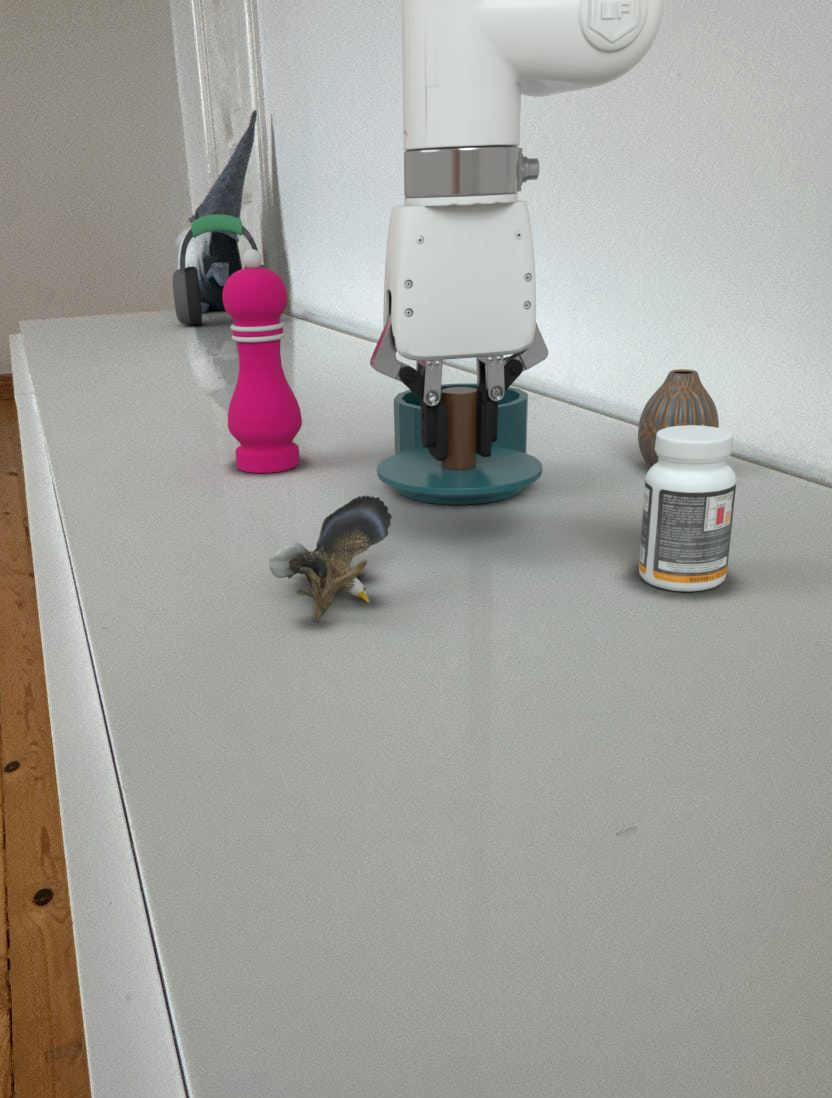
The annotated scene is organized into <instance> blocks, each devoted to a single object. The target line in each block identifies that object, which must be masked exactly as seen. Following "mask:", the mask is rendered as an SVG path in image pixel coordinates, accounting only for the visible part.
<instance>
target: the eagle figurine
mask: <svg viewBox="0 0 832 1098" xmlns="http://www.w3.org/2000/svg"><path fill="white" fill-rule="evenodd" d="M385 504H386V503H385V501H383V500H381V498H380V496H376V497H375V496H370V495H362V496H356V497H355V498H352V499H351V500H350V501H349V502H347V503H345V504H344V505H343V506H339V508H337V509H336V510H334V512H332V513H330V514H329V515H328V516H327V515H326V517H325V518H324V519H323V521H322V524H321V527H320V531H319V536H318V539H317V542H316V547H315V549H314V550H311V551H309V550H308V549H307V548H306V547H305V546H304V545H303V544H302V543H300V542H293V543H291V544H288V545H286V546H284V547H283V548H281V549H279V550H278V551H276V552H274V554H273V555H272V556H271V557H269V563H268V569H269V570H270V572H271V574H272V575H273V576H274V578H277V579H285V578H288V580H290V579H291V578H293V577H294V576H295V575H297V574H300V575H305V577H306V578H307V579H308V582H309V584H310V587H311V588H305V587H303V588H299V589H297V590H296V594H297V595H299V596H308V597H311V598H312V599H313V605H314V611H313V622H314V623H318V622H319V621H320V619H321V618H322V616H324V615H325V612H327V611H328V610H329V608H330V607H329V606H331V605H332V601H333V599H334V596H335V595H336V593H337V591H338V590H339V591H345V592H348V593H350V594H351V595H353V596H355V597H357V598H360V599H362V600H364V601H365V603H367V604H369V603H370V599H369V597H368V595H367V587H366V586H365V585H364V584H363V583H362V582H361V581H360V580H359V579H358V577H359V576H365V575H366V573H365V572H363V571H364V569H365V568H366V567H367V564H368V560H367V559H362V560H361V561H360V562H358V563H357V564H356V565H355V567H352V568H351V563H352V561H353V558H354V557H355V556H357V555H359V554H361V553H364V552H366V551H368V550H369V549H370V547H372V546H373V545H377V544H378V543H381V542H382V541H384V540H385V539H386V538H387V537H388V536H389V528H390V527H391V525H392V524H391V523H392V522H391V520H392V518H393V516H392V514H391V513H390V512H389V507H388V506H387V505H385Z"/></svg>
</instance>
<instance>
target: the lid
mask: <svg viewBox="0 0 832 1098" xmlns="http://www.w3.org/2000/svg"><path fill="white" fill-rule="evenodd" d="M441 395H442V396H443V404H444V405H446V406H447V408H448V458H447V459H445V461H437V460H436V459H435V458H434V457H433V456H432V455H431V454H430V453H429V451H428V448H419V449H414V450H409V451H404V452H401V453H397V454H395V453H394V454H392V455H389V456H387V457H385V458H383V459H382V460H381V461H379V463H378V464H377V465H376V476H377V478H378V479H379V480H380V482H382V483H383V484H385V485H387V486H390V487H392V488H395V489H397V488H398V489H401V490H405V491H410V492H416V493H423V494H428V495H435V496H449V497H466V496H479V495H487V494H492V493H498V492H504V491H509V490H513V489H517V488H521V487H524V486H525V487H526V486H529V485H531V484H534V483H535V482H537V481H538V480H539V479H540V478H541V477H542V474H543V464H542V462H541V461H540V460H539V459H538V458H536V457H535V456H533V455H531V454H529V453H527V452H526V453H523V452H520V451H516V450H511V449H506V448H499V447H491V456H490V457H482V456H480V455H479V454H478V453H477V403H478V390H477V389H475V388H470V387H451V388H446V389H443V390H442V391H441ZM525 487H524V488H525ZM398 489H397V490H398Z"/></svg>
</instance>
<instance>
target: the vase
mask: <svg viewBox="0 0 832 1098" xmlns="http://www.w3.org/2000/svg"><path fill="white" fill-rule="evenodd" d="M686 425H698V426H710V427H717V428H720V421H719V413H718V410H717V407H716V404H715V401H714V400H713V398H712V396H711V395H710V393H709V392H708V391H707V389H706V388H705V386H704V385H703V383H702V381H701V378H700V375H699V372H698V371H697V370H694V369H686V368H685V369H683V368H682V369H681V368H680V369H673V370H670V371H669V372H668V374H667V376H666V378H665V379H664V381H663V382H662V384H661V385H660V386H659V387H658V388H657V389H656V390H655V392H653V394H652V395H651V397H650V398H649V399H648V400H647V402H646V403H645V405H644V408H643V409H642V411H641V414H640V418H639V421H638V429H637V441H638V448H639V452H640V454H641V457H642V458H643V460H644V462H645V463H646V464H647V465H648V467H649V468H651V467H652V466H653V465H654V464H656V463H657V462H658V459H659V456H657V452H656V451H655V442H656V434H657V432H658V431H659V430H661V429H664V428H667V427H674V426H686Z"/></svg>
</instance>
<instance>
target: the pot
mask: <svg viewBox="0 0 832 1098" xmlns="http://www.w3.org/2000/svg"><path fill="white" fill-rule="evenodd" d="M451 387H470V388H475V389H476V388H477V382H475V383H473V382H472V383H471V382H470V383H469V382H468V383H443V384H442V383H441V391H442V390H443V389H446V388H451ZM528 415H529V393H527V392H526V391H525V390H522V389H520V388H518V387H514V386H509V388H508V389H507V390H506V391H505V394H504V397H503V398H502V399H501V400H499V401H498V429H497V441H496V442H491V447H499V448H506V449H511V450H516V451H520V452H523V453H526V454H527V450H528V449H527V448H528V447H527V444H528ZM393 427H394V428H393V429H394V454H397V453H401V452H404V451H409V450H414V449H419V448H424V447H423V445H422V441H421V400H420V399H419V398H418V397H417V396H416V395H415V394H414V393H413V392H412V391H411V390H410V389H408V390H405V391H402V392H399V393H397V395H396V396H395V397H394V398H393ZM525 487H526V486H524V487H521V488H517V489H513V490H509V491H504V492H498V493H492V494H487V495H479V496H466V497H449V496H435V495H428V494H423V493H416V492H410V491H405V490H401V489H398V488H396V489H397V492H398V493H399V494H401V495H402V496H404V497H406V498H408V499H411V500H413V501H418V502H423V503H428V504H433V505H434V504H435V505H445V506H446V505H448V506H449V505H450V506H467V505H468V506H469V505H470V506H471V505H481V504H488V503H494V502H495V503H496V502H499V501H503V500H507V499H510V498H513V497H515V496H517V495H519V494H521V493H522V492H523V491H524V489H525Z"/></svg>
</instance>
